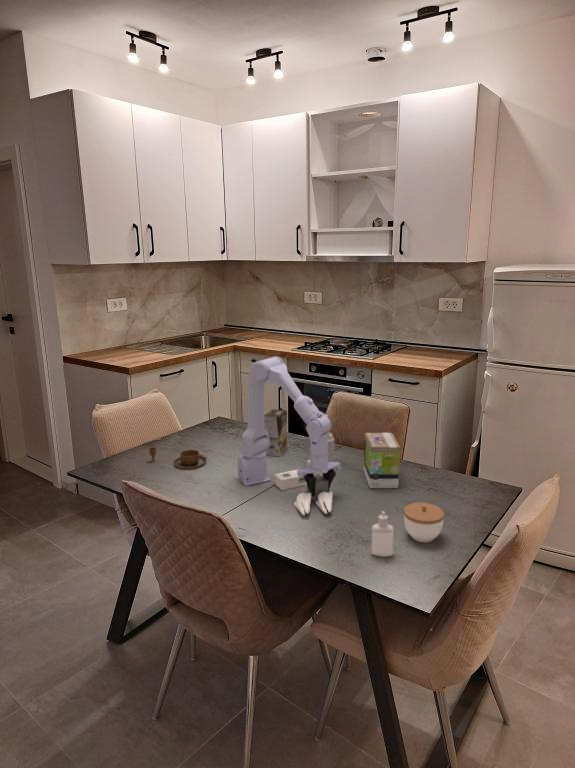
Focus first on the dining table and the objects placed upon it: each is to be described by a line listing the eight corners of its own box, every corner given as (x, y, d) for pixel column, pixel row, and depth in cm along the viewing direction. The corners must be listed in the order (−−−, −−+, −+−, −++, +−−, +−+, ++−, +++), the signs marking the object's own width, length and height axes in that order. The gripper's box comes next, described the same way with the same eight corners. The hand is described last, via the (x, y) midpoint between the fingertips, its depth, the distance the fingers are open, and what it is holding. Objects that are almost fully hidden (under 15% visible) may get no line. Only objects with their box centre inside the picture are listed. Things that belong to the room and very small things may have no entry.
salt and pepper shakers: (294, 502, 175) (291, 519, 165) (294, 490, 174) (291, 507, 164) (332, 503, 174) (332, 521, 164) (332, 491, 173) (332, 508, 163)
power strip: (281, 490, 183) (281, 478, 182) (274, 484, 188) (274, 472, 187) (328, 479, 191) (329, 468, 190) (320, 474, 196) (321, 462, 195)
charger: (315, 502, 174) (315, 483, 173) (302, 491, 182) (302, 473, 180) (328, 499, 176) (328, 480, 175) (314, 488, 184) (314, 470, 182)
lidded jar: (420, 523, 161) (421, 493, 158) (450, 538, 152) (452, 507, 150) (394, 535, 155) (395, 504, 152) (425, 551, 146) (426, 519, 144)
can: (334, 469, 200) (335, 437, 197) (313, 469, 200) (313, 437, 197) (333, 461, 207) (333, 430, 204) (313, 461, 207) (313, 430, 204)
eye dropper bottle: (387, 560, 142) (389, 518, 139) (368, 553, 145) (369, 512, 142) (395, 553, 145) (397, 511, 142) (376, 546, 149) (377, 505, 146)
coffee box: (280, 457, 212) (279, 417, 208) (264, 455, 214) (263, 415, 210) (287, 448, 220) (287, 410, 216) (272, 447, 222) (271, 408, 218)
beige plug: (312, 472, 188) (312, 464, 187) (307, 468, 191) (307, 460, 191) (321, 470, 190) (321, 462, 189) (316, 466, 193) (316, 458, 192)
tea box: (399, 488, 184) (401, 446, 180) (369, 489, 184) (370, 447, 180) (390, 470, 198) (392, 431, 194) (362, 470, 198) (363, 431, 194)
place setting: (182, 477, 196) (181, 461, 195) (147, 464, 208) (145, 449, 207) (218, 461, 209) (217, 447, 208) (182, 450, 221) (181, 436, 220)
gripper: (304, 461, 167) (304, 503, 170) (345, 453, 173) (345, 493, 176) (294, 454, 173) (294, 494, 176) (334, 446, 179) (333, 485, 182)
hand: (319, 493), depth 177 cm, fingers closed on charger, 4 cm apart
